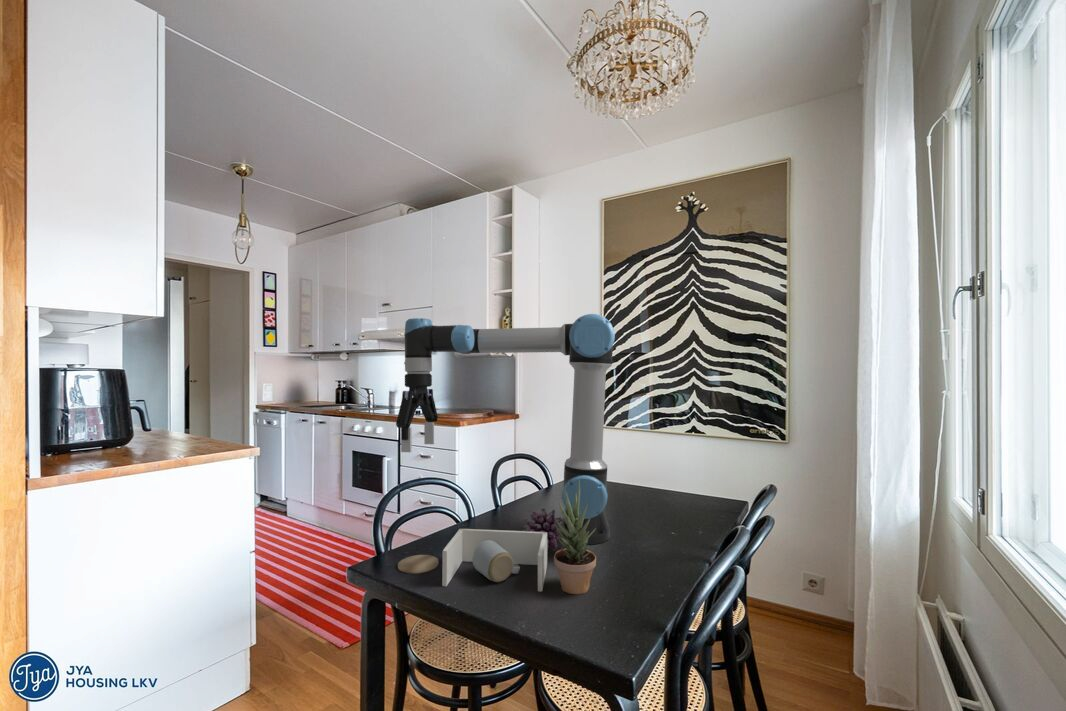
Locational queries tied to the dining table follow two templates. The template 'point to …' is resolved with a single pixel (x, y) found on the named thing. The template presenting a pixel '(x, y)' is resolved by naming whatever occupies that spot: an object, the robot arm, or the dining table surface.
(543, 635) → the dining table surface
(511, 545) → the white u-shaped wall
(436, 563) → the coaster
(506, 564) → the ceramic mug
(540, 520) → the purple round cluster
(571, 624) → the dining table surface
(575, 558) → the potted plant
